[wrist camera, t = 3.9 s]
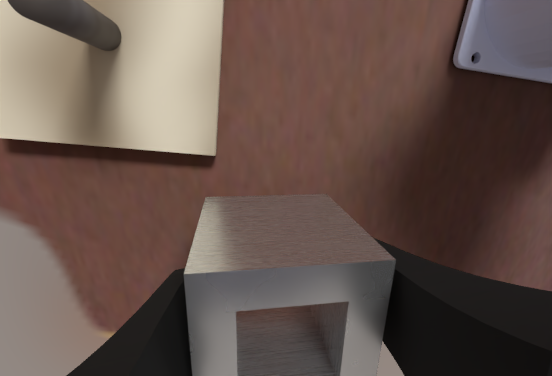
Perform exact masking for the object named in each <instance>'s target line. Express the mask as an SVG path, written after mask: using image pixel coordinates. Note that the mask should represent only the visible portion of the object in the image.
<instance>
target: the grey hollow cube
mask: <svg viewBox="0 0 552 376" xmlns="http://www.w3.org/2000/svg"><path fill="white" fill-rule="evenodd" d="M395 263H396V259H395V258H394V257H392V256H391V255H390V254H389V253H388V252H387V251H386V250H385V249H384V248H383V247H382V246H381V245H380V244H379V243H378V242H377V241H376V240H375V239H374V238H372V237H371V236H370V235H369V234H368V233H367V232H366V231H365V230H364V229H363V228H362V227H361V226H360V225H359V224H358V223H357V222H356V221H355V220H353V219H352V218H351V217H350V216H349V215H348V214H347V213H346V212H345V211H344V210H343V209H342V208H341V207H340V206H339V205H338V204H337V203H336V202H335V201H333V200H332V199H331V198H330V197H329V196H328V195H327V194H307V195H269V196H231V197H206V198H205V202H204V205H203V209H202V212H201V216H200V219H199V222H198V226H197V229H196V233H195V236H194V240H193V243H192V247H191V250H190V254H189V257H188V261H187V264H186V268H185V271H184V285H185V296H186V308H187V319H188V331H189V342H190V354H191V365H192V376H376V374H377V368H378V363H379V356H380V351H381V345H382V339H383V333H384V328H385V322H386V316H387V310H388V304H389V298H390V293H391V287H392V281H393V275H394V269H395Z"/></svg>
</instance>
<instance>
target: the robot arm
mask: <svg viewBox="0 0 552 376" xmlns="http://www.w3.org/2000/svg"><path fill="white" fill-rule="evenodd" d="M472 55H474V61H473V63H472V61H471V57H472ZM453 62H454V65H455V66H456V67H457V68H461V69H467V70H473V71H479V72H485V73H491V74H497V75H503V76H509V77H515V78H521V79H527V80H533V81H539V82H546V83H552V0H468V4H467V8H466V12H465V15H464V19H463V23H462V26H461V30H460V34H459V38H458V41H457V45H456V49H455V52H454V56H453ZM372 238H373V237H372ZM374 239H375V238H374ZM375 240H376V241H377V242H378V243H379V244H380V245H381V246H382V247H383V248H384V249H385V250H386V251H387V252H388V253H389V254H390V255H391V256H392V257H394V258H395V259H396V263H395V269H394V275H393V281H392V287H391V293H390V298H389V304H388V310H387V316H386V322H385V328H384V333H383V339H382V341H383V342H384V344H385V345H386V347H387V348H388V350H389V351H390V353H391V354H392V356H393V357H394V359H395V360H396V362H397V364H398V365H399V367H400V368H401V370H402V372H403V374H404V376H552V292H551V291H545V290H539V289H534V288H529V287H524V286H519V285H514V284H510V283H505V282H501V281H497V280H492V279H488V278H484V277H480V276H476V275H472V274H469V273H466V272H462V271H459V270H455V269H452V268H449V267H446V266H443V265H440V264H437V263H434V262H431V261H429V260H426V259H423V258H420V257H418V256H415V255H413V254H410V253H408V252H405V251H403V250H400V249H398V248H396V247H393V246H391V245H389V244H386V243H384V242H382V241H380V240H377V239H375ZM184 271H185V268H184V269H179V270H175V271H174V272H173V273H172V274H171V275H170V276H169V277H168V278H167V279H166V280H165V281H164V282H163V283H162V284H161V286H160V287H159V288H158V289H157V290H156V291H155V292H154V293H153V294H152V296H151V297H150V298H149V299H148V300H147V301H146V302H145V303H144V304H143V305H142V306H141V308H140V309H139V310H138V311H137V312H136V313H135V314H134V315H133V316H132V317H131V318H130V319H129V320H128V321H127V322H126V323H125V324H124V325H123V326H122V327H121V328H120V329H119V330H118V331H117V332H116V333H115V334H114V335H113V336H112V337H111V338H110V339H109V340H107V341H106V342H105V343H104V344H103V345H102V346H101V347H100V348H99V349H98V350H97V351H95V352H94V353H93V354H92V355H91V356H90V357H88V358H87V359H86V360H85V361H84V362H83V363H82V364H80V365H79V366H78V367H77V368H75V369H74V370H73V371H72V372H71V373H69V374H68V375H67V376H192V365H191V354H190V342H189V331H188V319H187V308H186V296H185V285H184Z"/></svg>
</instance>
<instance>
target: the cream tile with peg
mask: <svg viewBox="0 0 552 376" xmlns="http://www.w3.org/2000/svg"><path fill="white" fill-rule="evenodd" d="M223 13H224V0H0V138H7V139H19V140H31V141H43V142H55V143H67V144H79V145H91V146H103V147H115V148H127V149H139V150H151V151H163V152H175V153H187V154H199V155H211V156H215V155H216V148H217V128H218V109H219V90H220V71H221V52H222V32H223Z"/></svg>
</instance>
